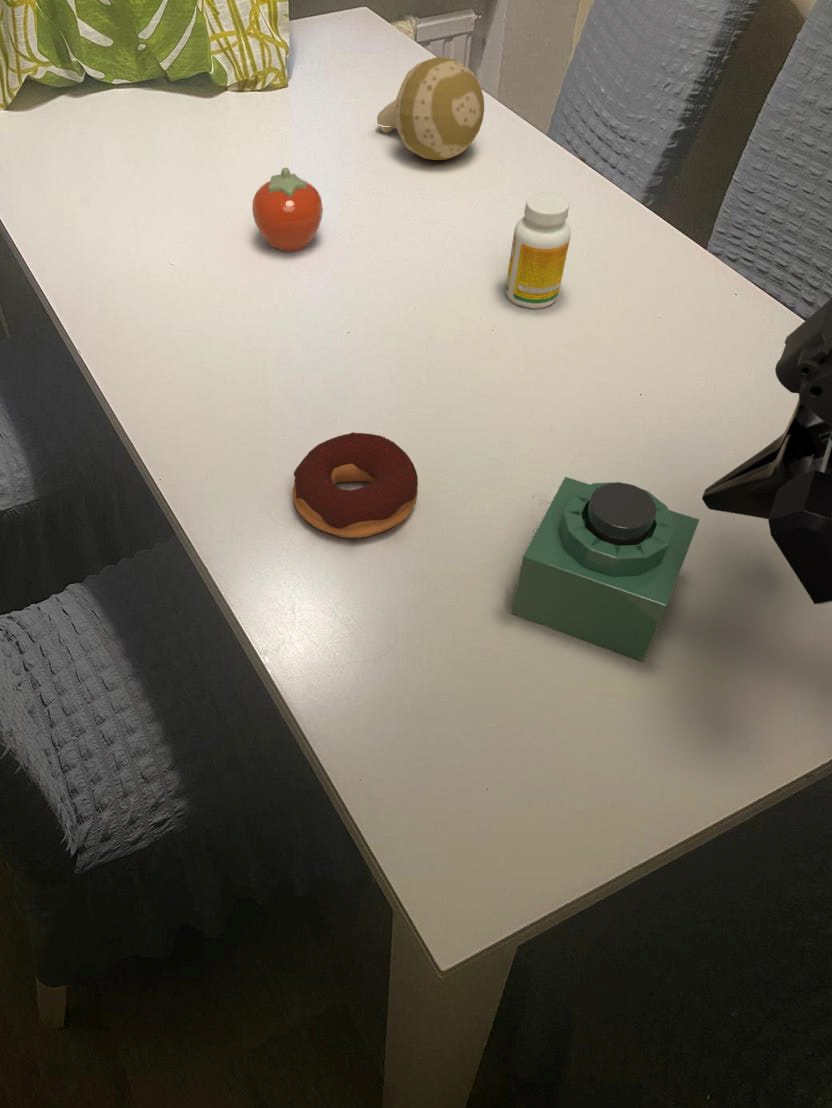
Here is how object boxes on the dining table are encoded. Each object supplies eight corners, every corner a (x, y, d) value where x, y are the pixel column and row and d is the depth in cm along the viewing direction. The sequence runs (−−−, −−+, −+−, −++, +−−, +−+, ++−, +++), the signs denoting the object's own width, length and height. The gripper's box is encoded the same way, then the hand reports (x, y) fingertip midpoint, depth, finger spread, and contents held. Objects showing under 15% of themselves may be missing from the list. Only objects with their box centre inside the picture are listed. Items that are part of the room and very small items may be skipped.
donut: (290, 545, 73) (288, 509, 70) (295, 461, 79) (292, 424, 76) (419, 545, 73) (422, 508, 70) (413, 461, 79) (416, 423, 76)
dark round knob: (657, 513, 64) (664, 494, 63) (639, 554, 62) (646, 536, 61) (596, 493, 66) (601, 474, 64) (576, 533, 63) (581, 515, 62)
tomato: (336, 248, 100) (335, 173, 93) (276, 268, 97) (271, 192, 91) (301, 218, 104) (298, 144, 97) (242, 237, 101) (235, 162, 95)
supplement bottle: (495, 288, 95) (507, 195, 87) (539, 275, 96) (555, 183, 89) (523, 315, 92) (539, 221, 84) (568, 302, 94) (588, 208, 86)
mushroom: (409, 85, 117) (491, 37, 105) (429, 175, 121) (511, 138, 109) (344, 94, 112) (423, 44, 100) (367, 187, 116) (446, 150, 103)
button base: (675, 577, 71) (707, 500, 65) (643, 662, 66) (674, 588, 60) (551, 534, 74) (569, 457, 67) (510, 613, 69) (526, 537, 62)
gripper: (944, 194, 50) (680, 321, 61) (900, 389, 39) (594, 497, 51) (1019, 360, 54) (759, 449, 65) (997, 576, 43) (693, 636, 55)
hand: (706, 499), depth 59 cm, fingers closed
